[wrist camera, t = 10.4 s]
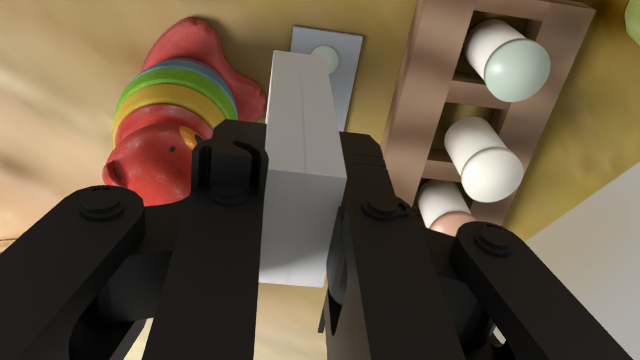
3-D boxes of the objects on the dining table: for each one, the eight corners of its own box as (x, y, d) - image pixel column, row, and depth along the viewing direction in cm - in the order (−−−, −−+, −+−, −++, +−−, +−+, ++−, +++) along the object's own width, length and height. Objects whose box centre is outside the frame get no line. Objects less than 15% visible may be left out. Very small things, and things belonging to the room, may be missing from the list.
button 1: (421, 173, 51) (437, 213, 45) (466, 178, 52) (488, 218, 46) (409, 211, 54) (423, 254, 48) (452, 216, 54) (471, 259, 49)
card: (293, 25, 43) (293, 27, 43) (362, 35, 44) (363, 37, 43) (274, 165, 51) (274, 169, 50) (334, 172, 51) (334, 175, 51)
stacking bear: (276, 104, 47) (270, 220, 32) (193, 160, 50) (151, 291, 35) (197, 6, 42) (146, 89, 27) (109, 73, 45) (18, 184, 30)
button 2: (471, 12, 43) (499, 37, 37) (524, 21, 43) (560, 46, 38) (454, 67, 45) (478, 97, 40) (505, 74, 46) (535, 105, 40)
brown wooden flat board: (423, -24, 42) (430, -18, 40) (581, 2, 43) (596, 9, 41) (361, 219, 55) (364, 234, 53) (485, 232, 57) (492, 246, 54)
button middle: (450, 111, 45) (474, 148, 39) (501, 117, 46) (532, 155, 40) (435, 157, 47) (455, 199, 42) (484, 163, 48) (510, 205, 42)
